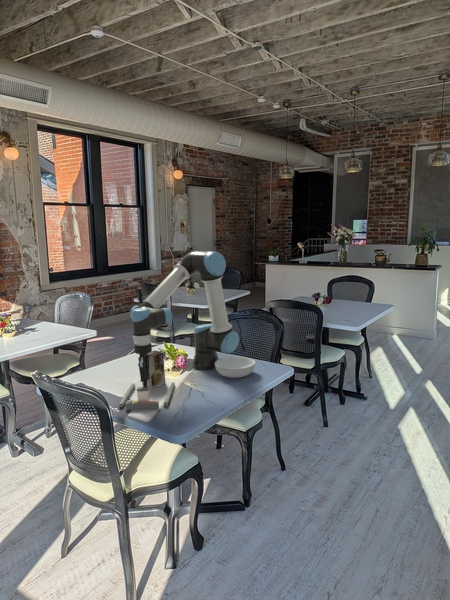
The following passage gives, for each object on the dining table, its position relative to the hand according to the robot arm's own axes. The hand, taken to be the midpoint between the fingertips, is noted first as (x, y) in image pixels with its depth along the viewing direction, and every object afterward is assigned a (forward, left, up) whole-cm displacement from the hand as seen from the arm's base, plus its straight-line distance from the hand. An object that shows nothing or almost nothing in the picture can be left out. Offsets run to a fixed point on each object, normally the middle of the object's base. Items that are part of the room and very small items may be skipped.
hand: (146, 394), depth 197 cm
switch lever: (0, +5, -3) cm, 6 cm away
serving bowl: (-40, -31, -4) cm, 50 cm away
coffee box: (0, -20, -3) cm, 20 cm away
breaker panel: (0, -4, -3) cm, 5 cm away
